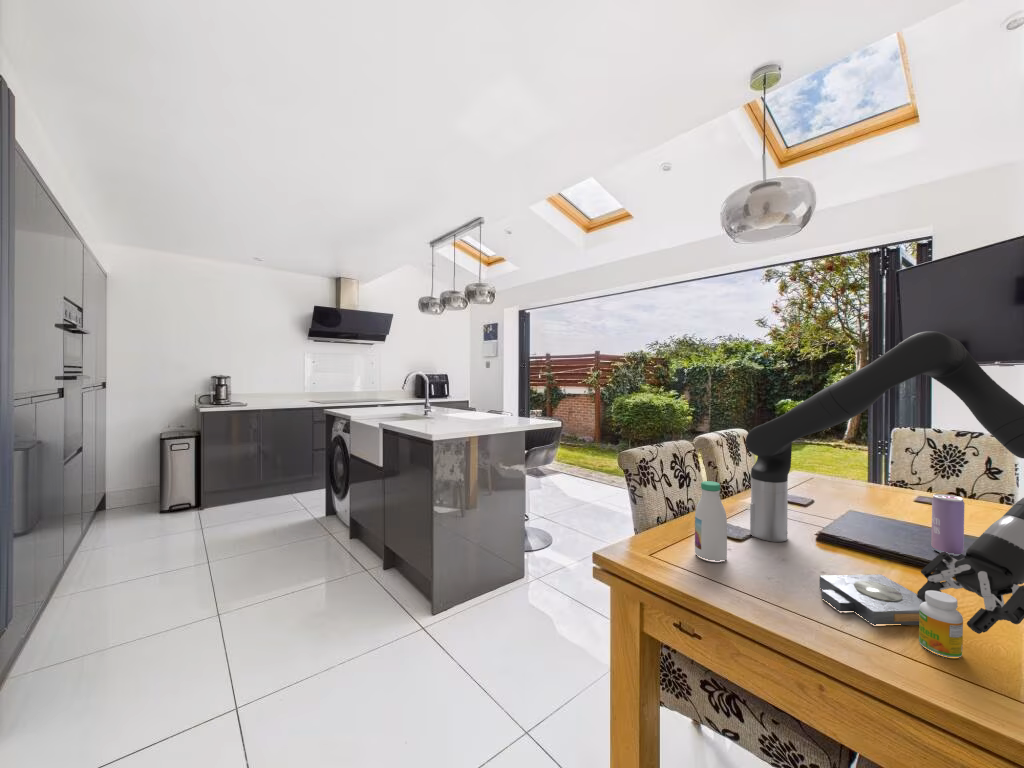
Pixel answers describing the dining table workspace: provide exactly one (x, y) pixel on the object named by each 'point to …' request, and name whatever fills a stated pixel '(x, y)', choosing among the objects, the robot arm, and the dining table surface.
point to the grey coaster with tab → (872, 598)
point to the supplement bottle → (941, 624)
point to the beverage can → (948, 523)
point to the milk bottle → (710, 524)
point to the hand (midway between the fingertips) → (945, 614)
